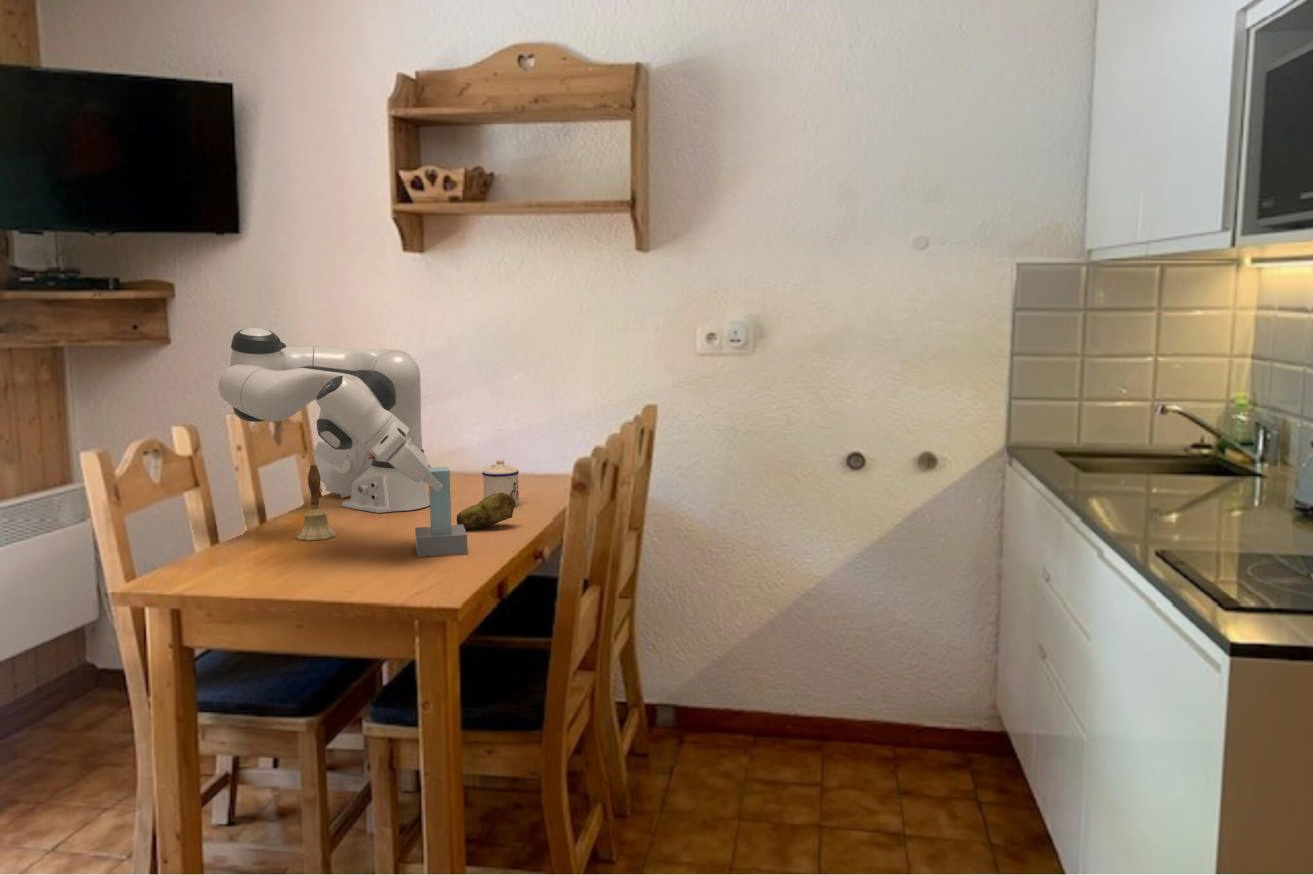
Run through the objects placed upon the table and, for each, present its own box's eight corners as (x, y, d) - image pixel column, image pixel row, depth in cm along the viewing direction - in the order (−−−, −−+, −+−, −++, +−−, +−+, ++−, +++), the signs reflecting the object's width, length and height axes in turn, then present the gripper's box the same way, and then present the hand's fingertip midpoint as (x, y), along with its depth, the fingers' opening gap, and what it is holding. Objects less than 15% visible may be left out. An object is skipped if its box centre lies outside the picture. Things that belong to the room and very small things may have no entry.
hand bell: (302, 532, 234) (298, 462, 232) (339, 531, 235) (336, 461, 233) (292, 541, 226) (288, 468, 224) (331, 540, 227) (328, 468, 224)
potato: (463, 524, 242) (462, 490, 240) (518, 524, 241) (517, 490, 240) (454, 532, 233) (453, 497, 232) (511, 532, 233) (510, 497, 231)
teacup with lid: (518, 508, 258) (516, 462, 256) (481, 509, 258) (479, 463, 256) (522, 499, 270) (521, 454, 268) (486, 500, 269) (485, 455, 268)
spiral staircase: (382, 497, 295) (360, 511, 271) (325, 471, 294) (297, 482, 269) (409, 439, 294) (389, 447, 269) (351, 412, 293) (326, 418, 268)
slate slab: (417, 557, 211) (416, 538, 210) (415, 546, 221) (415, 527, 220) (467, 553, 214) (466, 534, 213) (463, 542, 223) (463, 524, 223)
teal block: (431, 534, 214) (429, 471, 212) (430, 529, 219) (428, 467, 217) (451, 533, 215) (449, 470, 213) (450, 527, 220) (448, 466, 218)
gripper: (377, 443, 221) (426, 486, 225) (377, 458, 202) (430, 505, 205) (398, 422, 222) (447, 465, 225) (400, 434, 202) (453, 481, 206)
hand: (439, 484), depth 215 cm, fingers open, 8 cm apart
